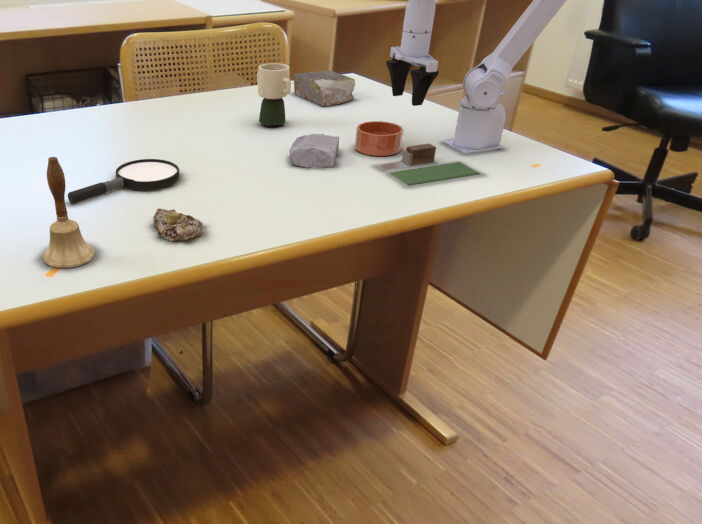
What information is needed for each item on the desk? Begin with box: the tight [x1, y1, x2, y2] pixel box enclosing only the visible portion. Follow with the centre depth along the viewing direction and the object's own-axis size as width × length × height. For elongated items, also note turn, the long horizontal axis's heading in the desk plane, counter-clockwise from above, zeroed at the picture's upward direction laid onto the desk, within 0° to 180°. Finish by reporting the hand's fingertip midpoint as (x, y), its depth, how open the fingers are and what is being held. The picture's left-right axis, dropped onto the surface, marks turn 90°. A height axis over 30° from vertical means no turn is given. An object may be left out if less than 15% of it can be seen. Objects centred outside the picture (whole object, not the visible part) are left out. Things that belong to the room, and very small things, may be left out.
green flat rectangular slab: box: [389, 161, 481, 187], centre depth 136 cm, size 17×7×1 cm, turn 110°
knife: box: [376, 143, 437, 171], centre depth 140 cm, size 12×3×3 cm, turn 110°
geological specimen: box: [293, 70, 356, 107], centre depth 180 cm, size 11×6×15 cm
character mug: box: [256, 62, 292, 127], centre depth 159 cm, size 11×7×13 cm, turn 40°
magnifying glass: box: [67, 158, 180, 205], centre depth 132 cm, size 12×24×2 cm, turn 132°
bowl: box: [354, 120, 404, 157], centre depth 146 cm, size 10×10×5 cm
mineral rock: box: [152, 208, 204, 242], centre depth 116 cm, size 11×4×8 cm
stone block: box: [288, 133, 340, 169], centre depth 144 cm, size 12×5×10 cm
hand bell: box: [42, 156, 96, 269], centre depth 105 cm, size 8×8×16 cm
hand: (407, 100), depth 146 cm, fingers open, 7 cm apart
